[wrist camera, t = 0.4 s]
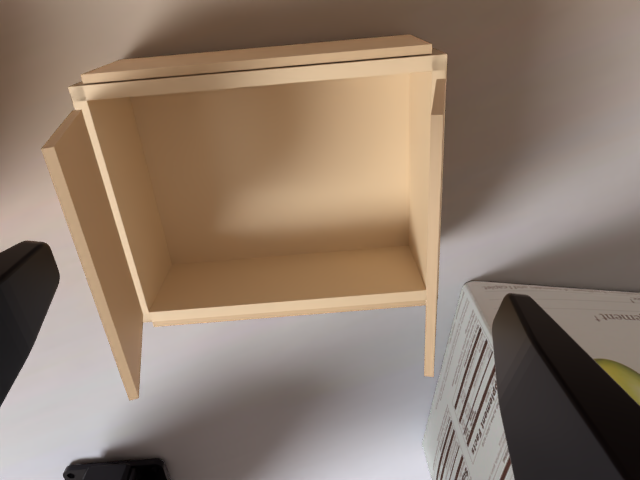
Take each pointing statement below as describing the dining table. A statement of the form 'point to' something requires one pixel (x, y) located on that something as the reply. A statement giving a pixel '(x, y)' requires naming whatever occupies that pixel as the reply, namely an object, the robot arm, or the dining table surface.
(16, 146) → the dining table surface
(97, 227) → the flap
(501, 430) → the supplement box
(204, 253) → the carton
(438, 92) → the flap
